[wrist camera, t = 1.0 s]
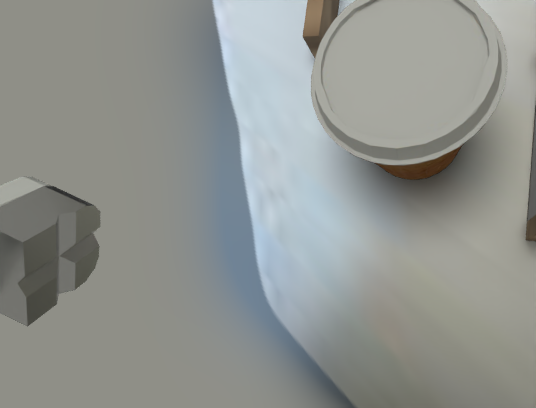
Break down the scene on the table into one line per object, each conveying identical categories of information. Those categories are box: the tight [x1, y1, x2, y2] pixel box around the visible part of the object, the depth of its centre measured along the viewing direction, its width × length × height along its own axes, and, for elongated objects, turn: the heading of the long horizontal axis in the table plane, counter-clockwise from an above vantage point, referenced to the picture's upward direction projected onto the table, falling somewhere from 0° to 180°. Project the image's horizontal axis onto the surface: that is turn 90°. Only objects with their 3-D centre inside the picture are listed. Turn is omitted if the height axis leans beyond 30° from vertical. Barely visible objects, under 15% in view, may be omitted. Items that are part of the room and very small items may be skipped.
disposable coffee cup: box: [311, 0, 507, 180], centre depth 28 cm, size 10×10×12 cm
